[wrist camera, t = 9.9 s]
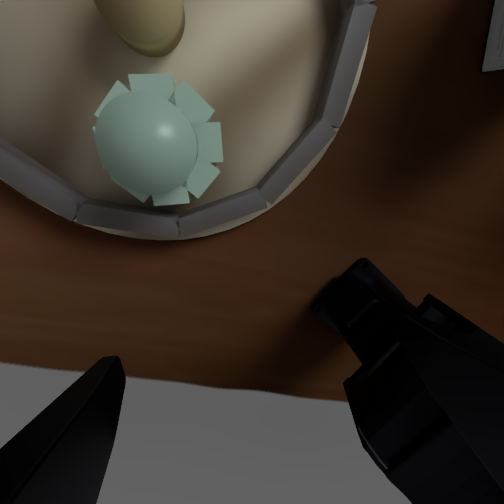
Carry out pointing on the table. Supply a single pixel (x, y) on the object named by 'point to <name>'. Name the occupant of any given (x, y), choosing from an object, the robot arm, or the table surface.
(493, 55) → the supplement box
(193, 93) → the pale green domed piece
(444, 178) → the table surface
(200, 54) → the carrier plate
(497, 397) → the robot arm
